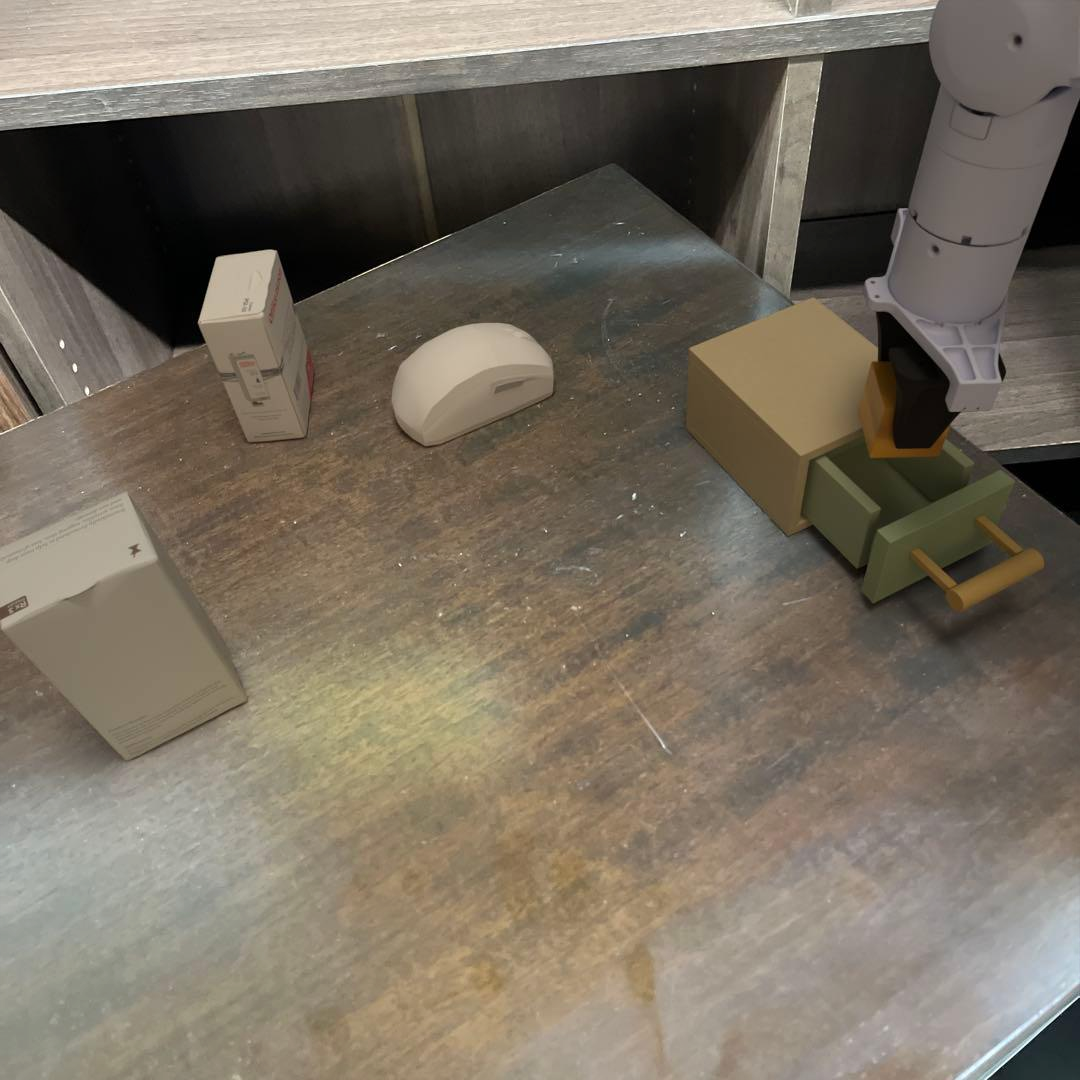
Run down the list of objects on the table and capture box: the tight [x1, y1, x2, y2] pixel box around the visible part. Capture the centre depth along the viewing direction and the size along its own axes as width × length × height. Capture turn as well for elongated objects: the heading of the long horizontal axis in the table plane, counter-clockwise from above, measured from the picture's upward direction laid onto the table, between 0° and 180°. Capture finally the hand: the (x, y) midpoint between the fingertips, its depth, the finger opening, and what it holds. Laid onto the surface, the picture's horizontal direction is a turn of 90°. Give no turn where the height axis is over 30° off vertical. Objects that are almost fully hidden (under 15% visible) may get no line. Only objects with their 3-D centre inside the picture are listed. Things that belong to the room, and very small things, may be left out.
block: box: [858, 361, 952, 458], centre depth 58 cm, size 4×4×4 cm
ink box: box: [197, 249, 315, 443], centre depth 75 cm, size 9×5×12 cm, turn 3°
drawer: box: [801, 435, 1045, 613], centre depth 62 cm, size 16×9×6 cm, turn 27°
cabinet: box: [685, 296, 878, 537], centre depth 69 cm, size 13×11×8 cm
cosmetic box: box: [0, 491, 248, 762], centre depth 56 cm, size 8×6×15 cm
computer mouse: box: [390, 322, 555, 447], centre depth 76 cm, size 6×13×6 cm, turn 118°
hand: (903, 416), depth 58 cm, fingers closed on block, 4 cm apart
